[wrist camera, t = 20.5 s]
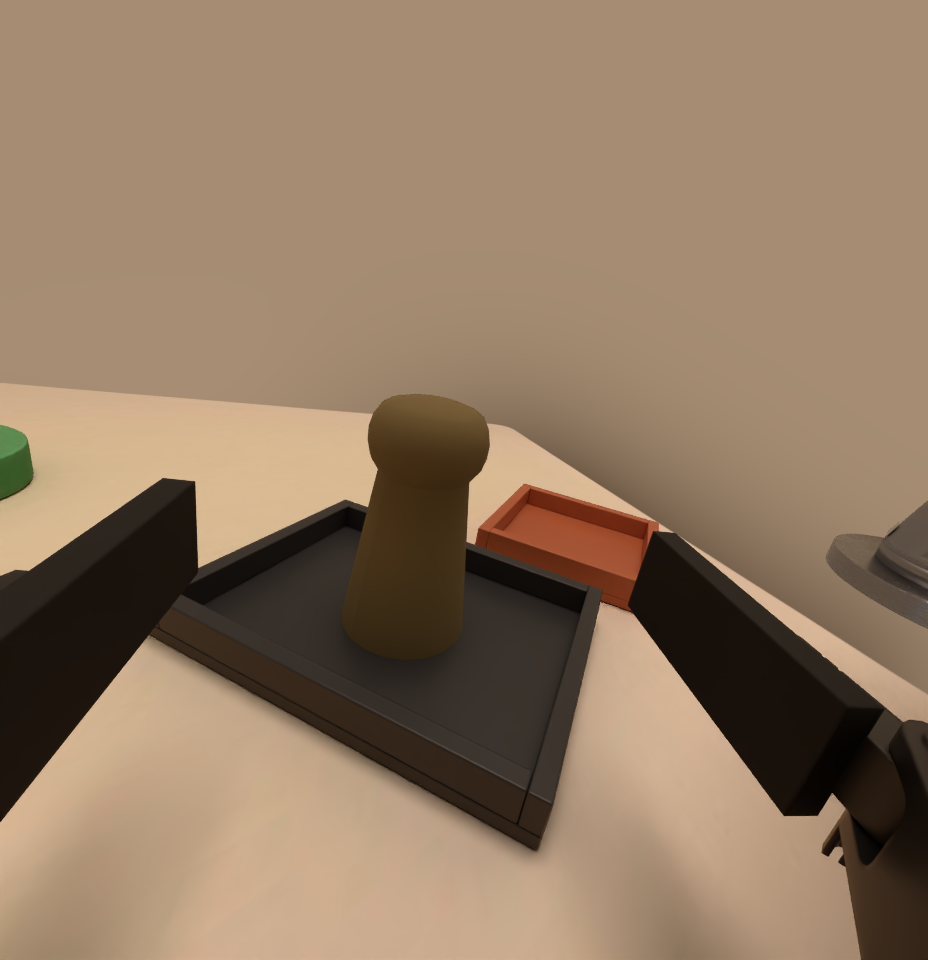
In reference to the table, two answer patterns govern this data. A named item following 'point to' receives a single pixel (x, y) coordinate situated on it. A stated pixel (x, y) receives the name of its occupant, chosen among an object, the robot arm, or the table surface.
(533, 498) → the terracotta tray
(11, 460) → the tape roll
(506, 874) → the table surface
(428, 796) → the table surface
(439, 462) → the cork
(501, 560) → the charcoal tray
